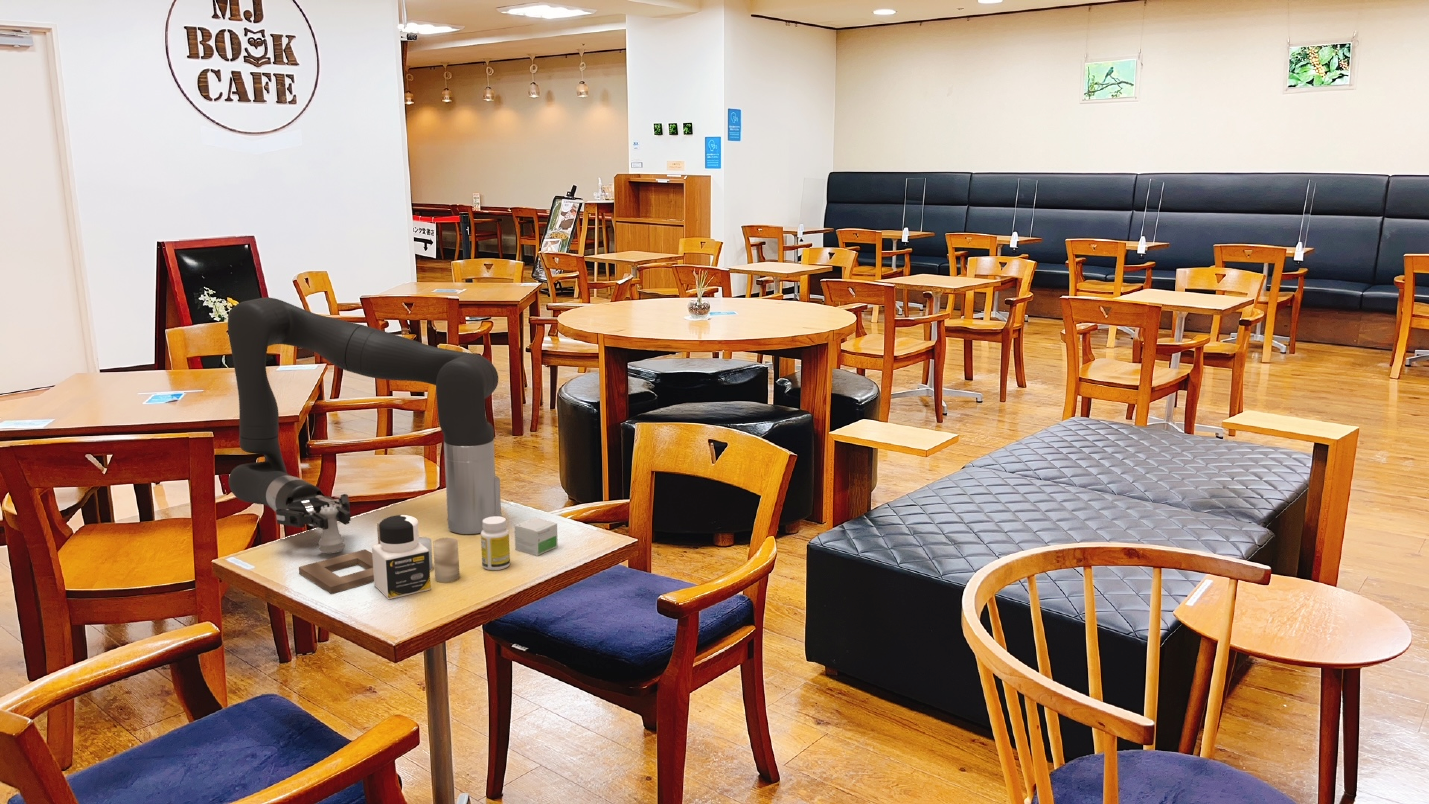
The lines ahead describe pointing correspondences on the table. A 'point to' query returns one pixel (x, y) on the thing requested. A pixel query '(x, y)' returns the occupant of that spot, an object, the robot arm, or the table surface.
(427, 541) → the short grey peg
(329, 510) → the rook chess piece
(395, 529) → the medicine bottle
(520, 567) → the table surface
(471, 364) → the robot arm
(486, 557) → the supplement bottle
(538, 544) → the small box
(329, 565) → the hole board
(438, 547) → the medium beech peg
